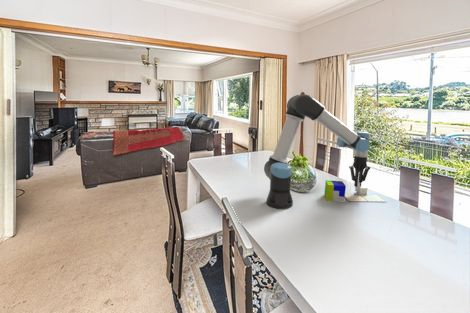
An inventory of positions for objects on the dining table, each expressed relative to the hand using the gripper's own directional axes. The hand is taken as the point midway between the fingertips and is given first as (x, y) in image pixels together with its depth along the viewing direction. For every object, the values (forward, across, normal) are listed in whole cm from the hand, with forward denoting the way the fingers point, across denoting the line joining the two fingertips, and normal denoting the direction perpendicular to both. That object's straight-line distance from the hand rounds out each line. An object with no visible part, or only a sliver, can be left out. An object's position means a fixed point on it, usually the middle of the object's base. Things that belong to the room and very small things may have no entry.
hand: (357, 191), depth 166 cm
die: (+2, +3, 0) cm, 3 cm away
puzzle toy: (+2, -18, -10) cm, 21 cm away
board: (+2, 0, -10) cm, 10 cm away
